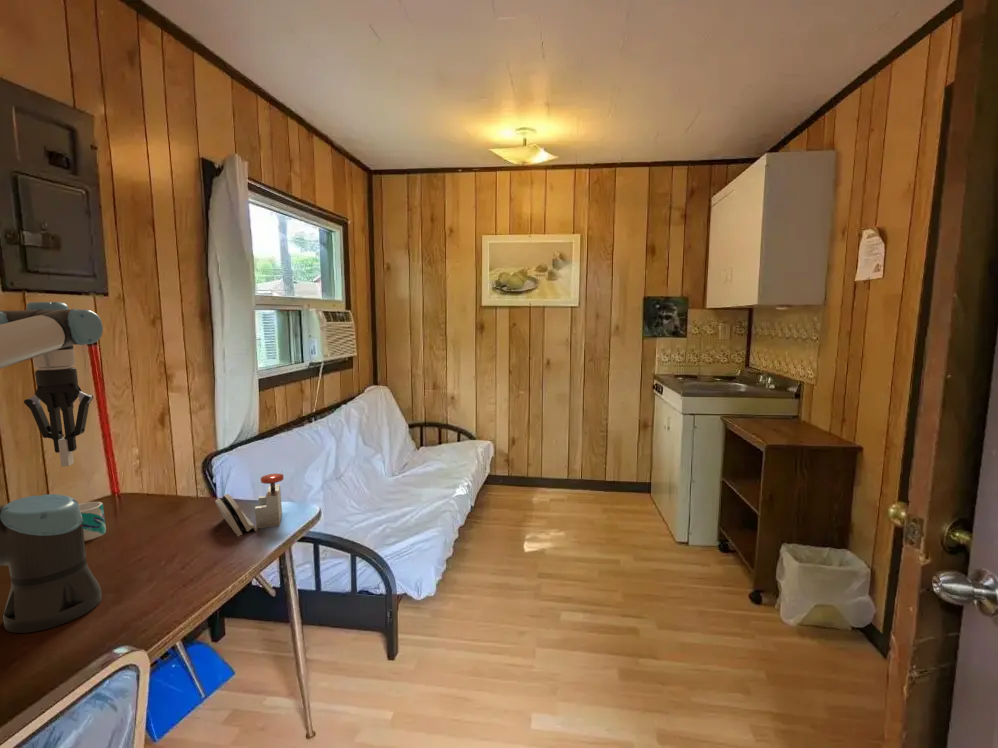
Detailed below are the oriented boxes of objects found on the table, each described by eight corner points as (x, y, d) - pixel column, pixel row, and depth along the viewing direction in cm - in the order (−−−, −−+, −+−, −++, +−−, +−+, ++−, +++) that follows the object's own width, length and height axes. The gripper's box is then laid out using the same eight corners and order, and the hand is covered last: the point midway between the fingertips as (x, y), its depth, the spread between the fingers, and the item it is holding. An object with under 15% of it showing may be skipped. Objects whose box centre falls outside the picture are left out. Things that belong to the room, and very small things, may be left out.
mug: (66, 544, 136) (63, 514, 135) (70, 529, 145) (66, 501, 144) (105, 536, 141) (102, 507, 140) (106, 522, 150) (103, 495, 149)
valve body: (285, 524, 146) (282, 480, 144) (256, 529, 143) (252, 484, 142) (287, 512, 155) (284, 470, 154) (260, 515, 153) (257, 473, 151)
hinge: (257, 531, 142) (241, 501, 139) (240, 541, 139) (224, 511, 136) (242, 513, 155) (227, 486, 151) (226, 522, 152) (211, 495, 149)
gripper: (95, 365, 127) (105, 457, 129) (29, 367, 122) (42, 463, 125) (82, 367, 119) (93, 465, 122) (12, 371, 115) (25, 472, 118)
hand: (67, 464), depth 124 cm, fingers closed
